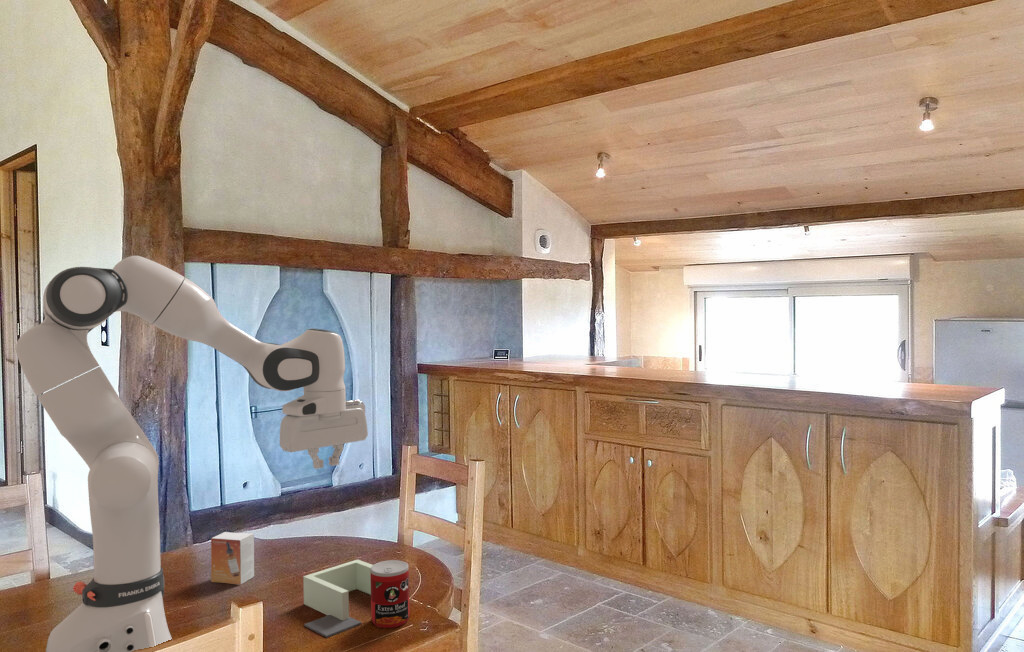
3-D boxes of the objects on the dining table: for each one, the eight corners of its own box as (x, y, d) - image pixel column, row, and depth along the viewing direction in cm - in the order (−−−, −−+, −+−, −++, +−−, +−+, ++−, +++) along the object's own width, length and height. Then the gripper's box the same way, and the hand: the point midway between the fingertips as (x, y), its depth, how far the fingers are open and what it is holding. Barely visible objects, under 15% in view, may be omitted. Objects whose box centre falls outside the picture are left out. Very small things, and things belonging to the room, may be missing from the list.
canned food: (373, 631, 142) (371, 575, 141) (369, 615, 149) (368, 562, 149) (412, 625, 144) (411, 570, 143) (407, 610, 151) (406, 558, 151)
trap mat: (326, 637, 139) (326, 635, 139) (304, 626, 144) (304, 624, 144) (361, 624, 145) (361, 622, 145) (338, 613, 150) (338, 611, 150)
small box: (210, 582, 169) (209, 538, 169) (225, 574, 175) (224, 531, 174) (241, 585, 167) (240, 540, 167) (255, 576, 173) (254, 532, 173)
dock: (342, 622, 146) (342, 592, 146) (303, 604, 156) (303, 576, 155) (397, 601, 156) (397, 573, 156) (358, 585, 166) (357, 559, 166)
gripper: (356, 397, 167) (357, 457, 167) (275, 406, 152) (276, 472, 152) (372, 399, 163) (374, 460, 163) (291, 409, 148) (292, 476, 148)
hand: (326, 466), depth 157 cm, fingers open, 3 cm apart
